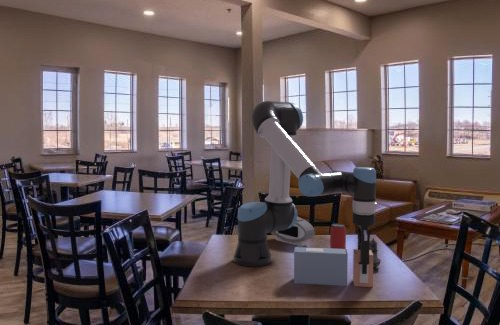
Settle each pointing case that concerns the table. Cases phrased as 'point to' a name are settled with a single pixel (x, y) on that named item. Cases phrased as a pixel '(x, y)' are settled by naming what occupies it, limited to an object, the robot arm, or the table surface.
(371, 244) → the dark rounded upright piece
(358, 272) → the stub
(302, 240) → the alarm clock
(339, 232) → the beer can
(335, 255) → the gray rectangular box
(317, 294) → the table surface
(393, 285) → the table surface
